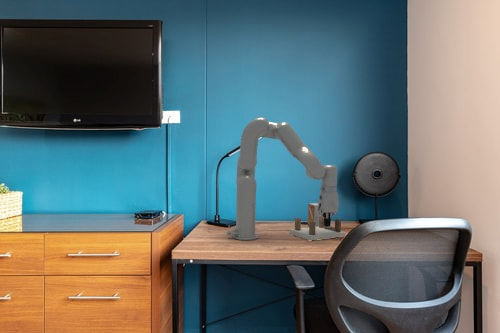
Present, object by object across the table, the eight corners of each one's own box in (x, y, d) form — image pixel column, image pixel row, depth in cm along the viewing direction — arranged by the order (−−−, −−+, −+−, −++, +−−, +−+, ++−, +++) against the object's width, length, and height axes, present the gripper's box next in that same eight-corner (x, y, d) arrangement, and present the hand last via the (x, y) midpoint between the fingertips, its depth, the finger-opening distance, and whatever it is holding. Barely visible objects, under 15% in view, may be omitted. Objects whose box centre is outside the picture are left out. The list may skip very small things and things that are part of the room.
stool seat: (311, 241, 164) (311, 223, 164) (289, 233, 180) (289, 217, 180) (345, 237, 175) (345, 220, 174) (322, 230, 190) (322, 215, 190)
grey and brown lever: (322, 228, 183) (323, 216, 183) (327, 227, 185) (327, 216, 184) (337, 231, 174) (338, 220, 174) (341, 231, 175) (342, 219, 175)
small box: (307, 224, 206) (308, 203, 206) (317, 224, 208) (317, 203, 208) (314, 227, 198) (314, 205, 198) (323, 227, 200) (324, 204, 200)
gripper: (321, 190, 166) (320, 228, 166) (345, 190, 173) (343, 226, 173) (312, 189, 172) (310, 225, 173) (334, 188, 179) (333, 223, 180)
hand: (327, 225), depth 173 cm, fingers closed
